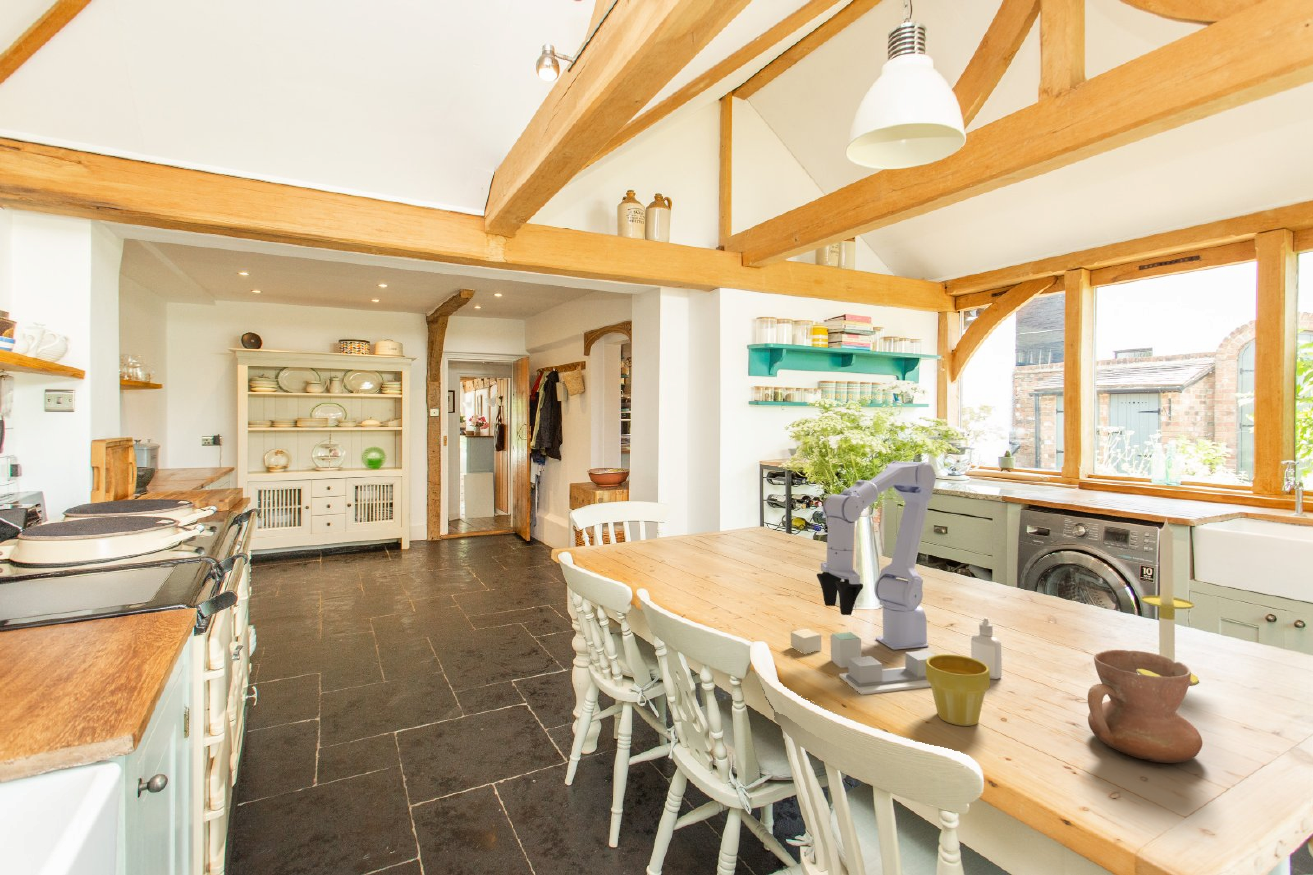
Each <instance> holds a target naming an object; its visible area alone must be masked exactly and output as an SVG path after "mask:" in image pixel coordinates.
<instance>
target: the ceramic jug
mask: <svg viewBox="0 0 1313 875" xmlns="http://www.w3.org/2000/svg"><path fill="white" fill-rule="evenodd" d="M1093 661H1094V666H1095V670H1096V672H1097V676H1098V678H1099V681H1100V683H1095V684H1093V685H1092V686H1090V688H1089V689H1088V692H1087V705H1088V708H1089V713H1088V716H1087V722H1088V726H1089V728H1090V730H1091V733H1093V734H1094V735H1095V737H1097V738H1098V740H1100V741H1101V742H1102V743H1103V744H1105V745H1106V746H1109V747H1110V748H1112V749H1114V750H1116V751H1118V752H1121V753H1123V754H1126V755H1128V756H1131V757H1134V758H1136V759H1141V760H1144V761H1149V762H1154V763H1155V762H1156V763H1163V764H1174V763H1176V764H1177V763H1183V762H1187V761H1190V760H1192V759H1194V758H1195V757H1197V755H1198V754H1199V753H1200V751H1201V750H1202V747H1203V738H1202V736H1201V734H1200V732H1199V731H1198V729H1197V728H1196V727H1195V726H1194V725H1193V723H1191V722H1189V721H1188V720H1187V719H1186V718H1184V717H1182V715H1180V714H1179V713H1177V712H1176V711H1177V710H1178V709H1179V707H1180V706H1181V704H1182V702H1183V700H1184V698H1185V696H1186V694H1187V692H1188V690H1189V686H1192V685H1191V684H1192V681H1191V673H1192V671H1191V669H1190V667H1188V665H1186V664H1185V663H1183V662H1181V661H1175V662H1174V661H1173V660H1172V659H1171V658H1169V657H1166V656H1162V655H1159V653H1158V654H1157V653H1153V652H1149V651H1141V650H1128V649H1110V650H1105V651H1100V652H1098V653H1095V654H1094V656H1093ZM1137 669H1144V670H1148V671H1151V672H1153V673H1155V674H1158V675H1160V676H1162V677H1157V676H1149V675H1141V674H1140V673H1138V672H1137ZM1106 695H1107V696H1108V698H1109V699H1110V700H1108V701H1106V702H1103V701H1104V697H1105V696H1106Z"/></svg>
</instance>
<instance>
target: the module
mask: <svg viewBox="0 0 1313 875" xmlns="http://www.w3.org/2000/svg"><path fill="white" fill-rule="evenodd" d="M855 657H862V638H860V637H859V636H857V635H856V634H854V633H853V632H851V631H850V632H847V631H846V632H838V633H830V661H831V662H832V661H833V662H832V663H834V665H836V664H837V665H838V666H837V665H836V666H837V667H839V668H840V669H844V668H845V667H846V668H849V658H855Z"/></svg>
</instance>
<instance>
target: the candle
mask: <svg viewBox="0 0 1313 875" xmlns="http://www.w3.org/2000/svg"><path fill="white" fill-rule="evenodd" d="M1140 600H1141V602H1143V603H1144V604H1147V605H1151V606H1153V607H1158V644H1159V645H1158V652H1159V653H1158V655H1162V656H1166V657H1169V658H1171V659H1172V660H1173V661H1174V662H1175V663H1176V654H1175V652H1176V646H1175V644H1176V642H1175V641H1176V640H1175V638H1176V637H1175V636H1176V634H1175V633H1176V632H1175V630H1176V627H1175V625H1176V624H1175V623H1176V622H1175V621H1176V620H1175V614H1176V613H1175V610H1189V609H1192V608H1194V607H1195V605H1194V603H1193V602H1192V601H1189V600H1185V599H1182V598H1179V597H1174V530H1173V529H1171V527H1170V525H1169V522H1168V518H1165V521H1164V524H1163V526H1162V528H1160V529H1159V595H1152V594H1151V595H1150V594H1149V595H1143V596H1141V597H1140ZM1137 673H1138V674H1139V675H1149V676H1157V677H1162V676H1160V675H1158V674H1155V673H1153V672H1151V671H1148V670H1144V669H1137ZM1191 681H1192V684H1191V685H1190V686H1194V685H1197V684H1199V683H1200V679H1199V678H1198V676H1197V675H1195V674H1194V673H1192V672H1191Z"/></svg>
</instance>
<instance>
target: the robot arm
mask: <svg viewBox="0 0 1313 875" xmlns="http://www.w3.org/2000/svg"><path fill="white" fill-rule="evenodd" d="M936 479H937V475H936V471H935V470H934V468H933V466H932V463H930V462H928V461H922V462H920V461H919V462H918V461H916V462H915V461H899V460H893V461H891V462H890V463H887V464H886V465H885V468H884V470H882V471H881V472H879V473H878V474H877V475H876V476H874V477H873V478H872V479H870V480H865V479H858V480H856V481H855V483H854V484H853V485H852V486H850V487H848V488H845V489H843V490H842V492H840V494H837V493H833V494H831V495H829V496H828V497H827V498H826V499H825V500H824V503H823V506H822V512H823V516H824V517H825V524H826V527H827V538H826V540H827V541H826V542H827V543H826V561H825V562H820V571H821V572H822V573H817V574H816V577H817V579H818V582H819V584H820V587H821V591H822V596H823V601H824V605H825V607H835V606H836V604H837V603H836V602H837V597H839V611H840V615H842V616H851V615H852V612H853V610H854V606H855V604H856V601H857V598H858V596H859V594H860V592H862V590H863V589H864V584H863V583H861V575H860V574H859V573H857V572H856V571H855V570H854V551H855V550H854V549H855V548H854V547H855V523H856V522H857V521H858V520H859V519H860V517H861V515H862V513H863V512H864V510H865V509H867V508H868V507H869V506H872V505H873V504H874V503H876V502H877V501H878V499H879V494H881V493H883V492H885V491H887V490H889V489H890V488H892V489H893V490H894V491H895V493H896V494H898V496H900V497H901V498H902V499H903V501H904V506H903V510H902V514H901V518H900V523H899V528H898V532H897V536H896V542H895V544H894V545H895V546H894V550H893V554H892V560H891V563H889V564H888V565H886V566H885V567H883V568H881V570H880V573H879V575H878V578H877V580H876V581H875V583H874V595H875V597H876V599H877V600H878V601H879V605H880V606H882V635H881V636H875V639H876V640H877V641H878V642H880V643H882V644H883V645H885V646H886V647H888V648H890V649H891V650H893V651H894V650H904V649H914V648H924V647H929V645H930V644H929V643H928V641H927V640H928V634H927V631H928V630H927V615H926V613H925V610H924V609H923V608H922V607H921V606H920V604H921V603H922V600H923V596H924V595H923V583H924V580H923V577H922V576H920V575H919V573H918V572H917V571H916V569H915V568H916V565H917V564H916V563H917V560H918V559H917V558H918V554H919V551H920V545H921V540H922V534H923V531H924V527H925V521H926V517H927V513H928V508H929V503H930V499H932V496H933V494H934V489H935V483H936ZM905 503H906V504H905ZM903 579H904V580H903ZM842 580H843V581H842Z"/></svg>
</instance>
